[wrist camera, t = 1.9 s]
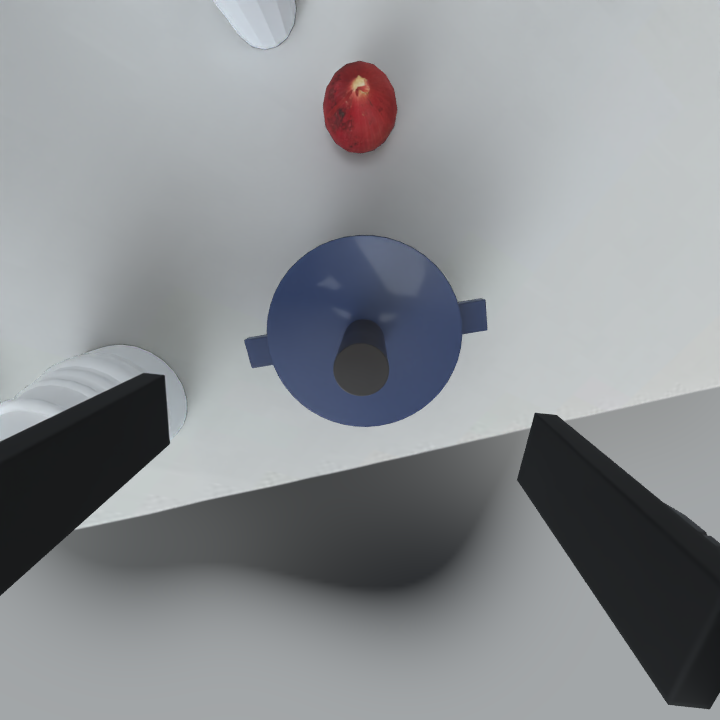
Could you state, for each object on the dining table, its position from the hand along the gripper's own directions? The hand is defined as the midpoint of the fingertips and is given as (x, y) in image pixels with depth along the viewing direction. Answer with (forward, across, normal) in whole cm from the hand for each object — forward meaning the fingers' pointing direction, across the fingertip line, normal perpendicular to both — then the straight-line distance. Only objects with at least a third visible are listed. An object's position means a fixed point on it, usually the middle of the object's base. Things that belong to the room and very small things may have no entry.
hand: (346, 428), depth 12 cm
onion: (+24, -2, +17) cm, 30 cm away
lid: (+14, 0, 0) cm, 14 cm away
